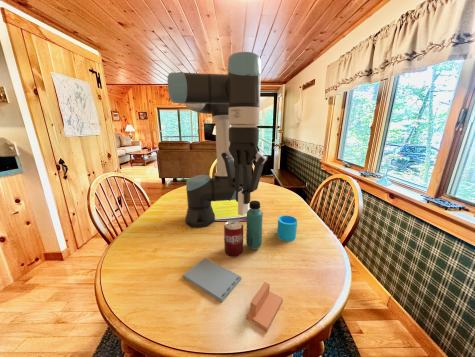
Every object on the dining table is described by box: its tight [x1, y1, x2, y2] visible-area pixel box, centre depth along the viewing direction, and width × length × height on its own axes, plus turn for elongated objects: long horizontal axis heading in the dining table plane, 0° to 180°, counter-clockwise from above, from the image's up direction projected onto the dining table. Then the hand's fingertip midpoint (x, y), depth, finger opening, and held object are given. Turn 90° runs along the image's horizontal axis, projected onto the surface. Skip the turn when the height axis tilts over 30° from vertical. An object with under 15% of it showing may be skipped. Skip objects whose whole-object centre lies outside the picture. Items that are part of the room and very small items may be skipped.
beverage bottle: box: [245, 200, 264, 250], centre depth 76 cm, size 6×7×20 cm
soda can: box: [223, 220, 244, 258], centre depth 74 cm, size 7×7×12 cm
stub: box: [245, 281, 284, 332], centre depth 52 cm, size 6×10×5 cm, turn 146°
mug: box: [276, 214, 298, 242], centre depth 87 cm, size 12×8×8 cm
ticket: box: [182, 257, 242, 303], centre depth 63 cm, size 16×10×2 cm, turn 56°
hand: (242, 213), depth 54 cm, fingers closed
